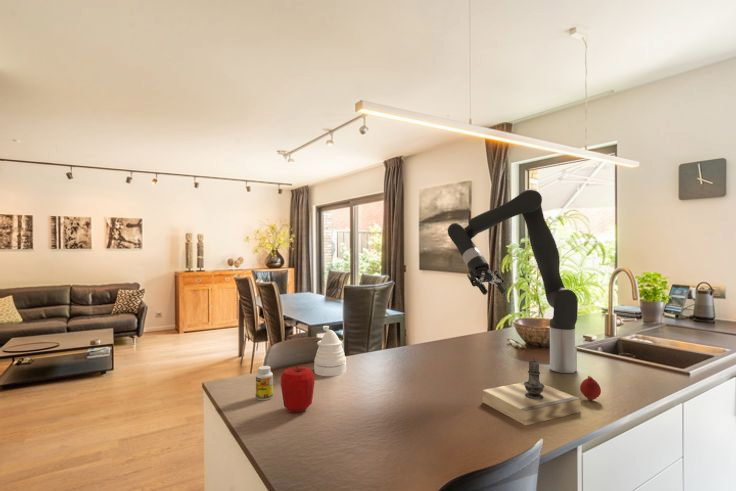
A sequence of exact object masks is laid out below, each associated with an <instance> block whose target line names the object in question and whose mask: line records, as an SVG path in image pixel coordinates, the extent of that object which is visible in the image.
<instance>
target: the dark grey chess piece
mask: <svg viewBox="0 0 736 491" xmlns="http://www.w3.org/2000/svg"><path fill="white" fill-rule="evenodd" d="M527 373H528V380H527V381H524V382H525V383H524V385H525V388H526V390H527V391H528V393H526V394H525V396H526V397H528V398H530V399H536V400H539V399H543V398H544V397H543V396H542V395H541V394H540V393H541V392H542V391H543V388H544V387H545V386H544V385H545V384H544V383H542V382H540V381H541V380H540V375H541V372H540V363H539V361H538V360H536V358H535V357H533V358H532V359H531V360H530V361H529V362H528V371H527ZM543 384H544V385H543Z"/></svg>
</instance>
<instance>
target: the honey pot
mask: <svg viewBox="0 0 736 491" xmlns="http://www.w3.org/2000/svg"><path fill="white" fill-rule="evenodd" d="M322 330H323V331H324V332H325V333H324V334H323V336H322V338H321V339H320V340H318V341H317V343H316V344H317V346H318V349H316V354H315V357H314V360H313V361H314V362H313V363H314V365H313V366H314V369H313V370H314V372H313V373H314V374H316V375H317V376H323V377H335V376H340V375H344V374H345V373H346V372H347V357H346V355H345V351H344V349H343V346H342V343H343V342H342V340H341V339H340V338H339V337H338V334H336V332H335V330H332V329H330V325H323V326H322Z"/></svg>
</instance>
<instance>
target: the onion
mask: <svg viewBox="0 0 736 491" xmlns="http://www.w3.org/2000/svg"><path fill="white" fill-rule="evenodd" d="M579 386H580V387H579V390H580V393H581V394H582V395H583V396H584V397H585V398H586V399H587V400H588V401H593V400H596V399H598V397H600V396H601V393H602V390H601V387H600V384H599V383H598V382H597V380H595V379H594V378H593V377H592V376H591V375H587V378H585V379H584V380H583V381H582V382H581V384H580V385H579Z"/></svg>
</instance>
